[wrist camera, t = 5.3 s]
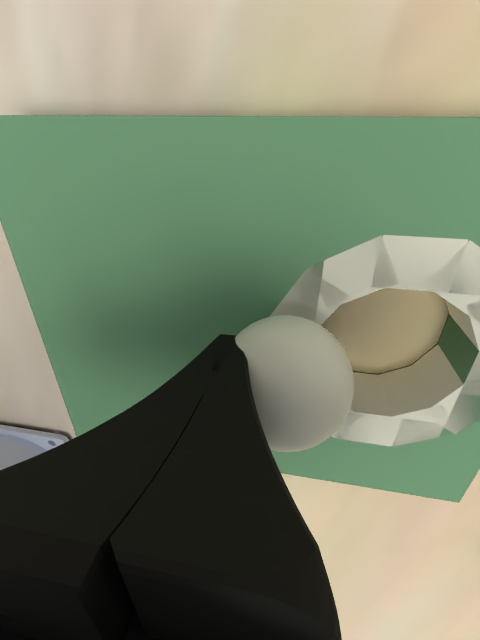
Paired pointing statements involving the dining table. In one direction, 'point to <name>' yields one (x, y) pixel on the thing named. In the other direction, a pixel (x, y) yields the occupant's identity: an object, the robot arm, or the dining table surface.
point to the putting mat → (254, 263)
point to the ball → (297, 380)
